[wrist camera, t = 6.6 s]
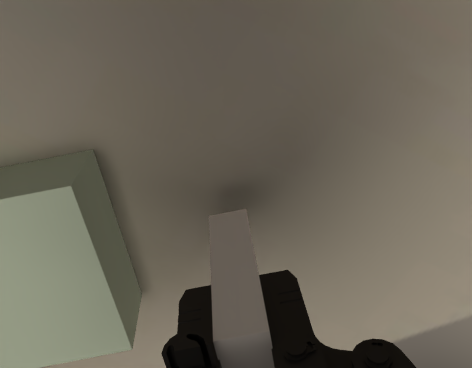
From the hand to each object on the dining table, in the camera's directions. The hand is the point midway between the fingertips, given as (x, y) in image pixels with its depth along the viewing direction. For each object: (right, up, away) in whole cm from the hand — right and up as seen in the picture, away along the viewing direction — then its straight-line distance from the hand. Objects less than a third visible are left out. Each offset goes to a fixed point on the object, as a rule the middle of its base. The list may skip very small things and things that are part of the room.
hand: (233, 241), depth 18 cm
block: (-9, 0, +3) cm, 10 cm away
